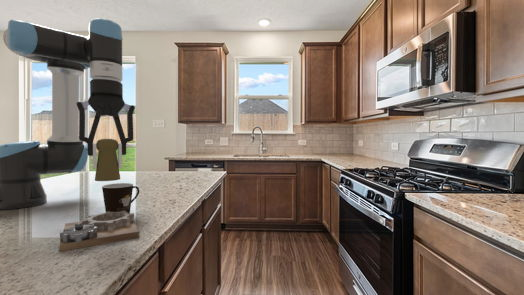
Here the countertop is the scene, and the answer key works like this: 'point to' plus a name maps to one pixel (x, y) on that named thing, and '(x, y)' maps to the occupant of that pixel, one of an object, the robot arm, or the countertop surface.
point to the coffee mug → (118, 197)
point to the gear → (78, 233)
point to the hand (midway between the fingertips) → (107, 167)
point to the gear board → (105, 229)
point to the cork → (107, 160)
